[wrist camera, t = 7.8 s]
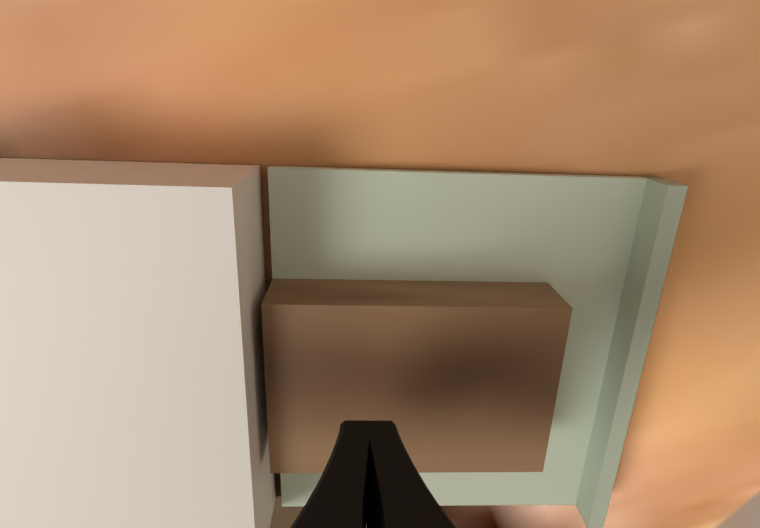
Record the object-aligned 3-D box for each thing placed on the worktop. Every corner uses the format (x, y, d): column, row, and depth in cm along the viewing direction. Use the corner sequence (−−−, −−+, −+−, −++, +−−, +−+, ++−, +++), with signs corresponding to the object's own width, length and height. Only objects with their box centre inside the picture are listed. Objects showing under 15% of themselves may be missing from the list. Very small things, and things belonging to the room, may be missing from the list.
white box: (275, 498, 19) (258, 582, 16) (26, 499, 19) (-45, 587, 16) (259, 165, 15) (231, 187, 12) (-67, 156, 14) (-193, 176, 11)
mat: (585, 496, 20) (603, 528, 19) (283, 498, 19) (277, 530, 18) (658, 176, 16) (688, 185, 14) (269, 165, 15) (260, 174, 14)
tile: (523, 432, 18) (542, 471, 16) (279, 432, 18) (270, 473, 16) (548, 282, 16) (572, 308, 14) (272, 278, 16) (260, 304, 14)
